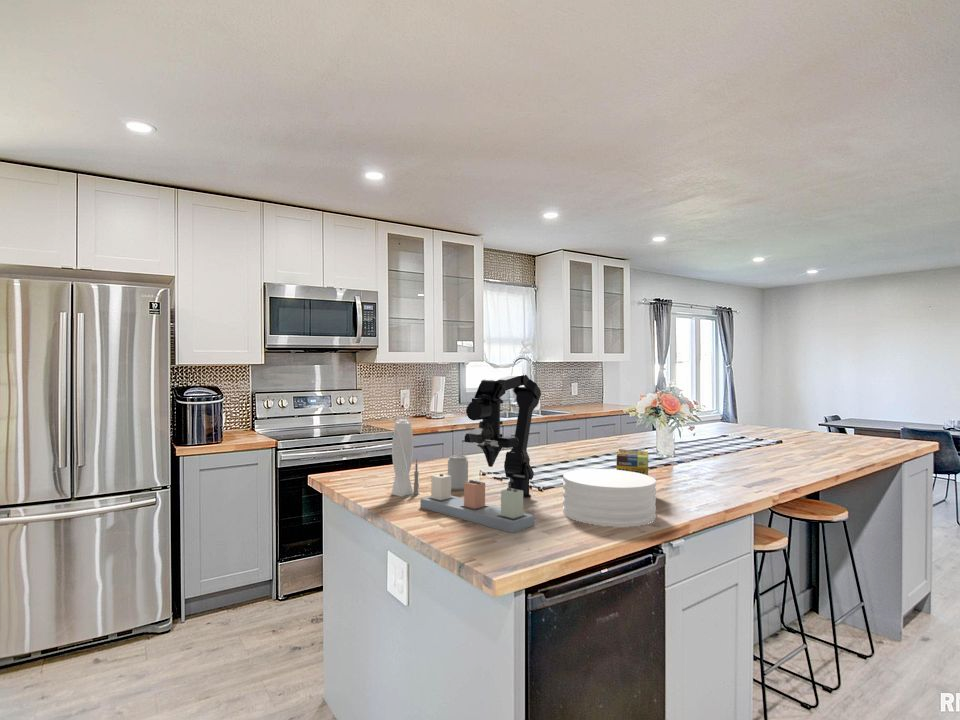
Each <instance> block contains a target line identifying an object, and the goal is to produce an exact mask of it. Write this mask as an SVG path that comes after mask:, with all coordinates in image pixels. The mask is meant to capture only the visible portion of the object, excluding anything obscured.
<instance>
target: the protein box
mask: <svg viewBox="0 0 960 720" xmlns="http://www.w3.org/2000/svg"><path fill="white" fill-rule="evenodd" d="M615 468H616V469H615V470H623V471H630V472H636V473H641V474H645V475H648V476H649V451H648V450H646V451H645V450H635V449H634V450H633V449H621V448H620V449H618V451H617V454H616V467H615Z"/></svg>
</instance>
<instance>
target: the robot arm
mask: <svg viewBox="0 0 960 720" xmlns="http://www.w3.org/2000/svg"><path fill="white" fill-rule="evenodd" d="M509 390H512V392H513V393H514V395H515V401H516V404H517V406H518V413H517V419H516V420H517V421H516V426H515V432H514V433H515V434H514V436H503V434H502V433H501V425H503V420H501V404H504V400H502V398H501V397H503V396H504V395H505V394H506V392H507V391H509ZM541 396H542V391H541V389H540V387H539V385H538V384H537V383H536V382H535V381H533V380H532V379H531V378H529V377H528V375H527V374H525V373H513V374H511V375H509V376H505V377H502V378H498V379H493V378H492V379H491V378H489V379H487V378H484V379H482V380H481V381H480V384H479V386H478V387H477V390H476V393H475V394H474V397H473V398H471V402H469V404H468V405H467V407H466V409H465V413H466V417H468V419H469V420H471V421H479V423H478V427H476V428H475V427H474V428H473V430H472V429H471V431H469V432H466V433H465V435H464V443H469V444H470V443H471V444H472V443H473V444H474V443H476V444H477V445H476V446H477V447H479V448H480V449H481V450H482V451H483V454H484V457H485V460H486V463H487V466H488V467H489V468H490V467H491V468H492V467H493V466H494V464H495V462H496V460H497V458H498V455H499V454H500V452H501V450H502V449H503V448H504V449H505V448H506V449H508V448H510V451H507V452H506V453H505V459H504V462H503V463H504V464H503V465H504V466H503V467H504V468H503V469H504V473H505V478H509V481H508V484H507V485H508V486H507V488H513V489H517V490H522V491H523V498H530V497H531V498H532V494H530V481H531V480H533V479H534V476H535V475H534V474H535V473H534V469H533V468H532V466H531V464H530V461H531V459H530V456H529V453H528V451H527V450H528V443H529V436H530V430H531V424H532V419H533V418H532V417H533V413H534V412H533V411H534V410H535V409H536V407H537V406H538V405H539V403H540V398H541Z"/></svg>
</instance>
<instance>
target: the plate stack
mask: <svg viewBox="0 0 960 720" xmlns="http://www.w3.org/2000/svg"><path fill="white" fill-rule="evenodd" d="M562 477H563V478H562V480H563V483H562V488H563V490H562V497H563V498H562V505H563V507H562V513H563V515H564V516H565V517H567V518H568V519H571V520H573V521H575V520H576V522H578V521H579V523H582V522H583V524H586V523H588V524H587V525H591V524H594V525H593V526H597V525H602V526H601V527H606V526H613V527H612V528H630V527H629V526H637V527H641V526H640V525H643V526H646V525H645V524H647V525H649V524H648V523H650V522H652V521H654V520H655V521H656V519H655V518H657V517H656V516H657V515H656V511H657V510H656V509H657V506H656V502H657V497H656V494H657V488H656V487H657V480H656V479H655V478H654V476H653V477H652V476H651V475H649V474H648V475H645V474H641V473H636V472H630V471H623V470H616V469H611V468H609V469H608V468H586V469H585V468H584V469H576V470H570V471H567V472H565V473H563V476H562ZM655 521H654V522H655ZM652 523H653V522H652ZM650 524H651V523H650Z"/></svg>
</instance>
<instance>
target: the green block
mask: <svg viewBox="0 0 960 720" xmlns="http://www.w3.org/2000/svg"><path fill="white" fill-rule="evenodd" d="M500 507H501V516H505V517H509V518H516V517H519V516H523V513H524V497H523V491H522V490H517V489H513V488H508V487H507V488H506V489H502V490H501V491H500Z"/></svg>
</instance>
